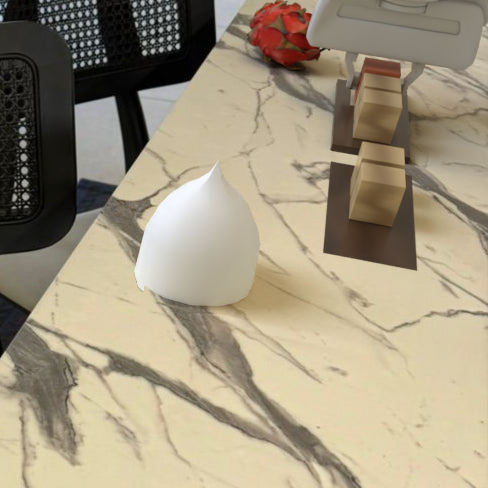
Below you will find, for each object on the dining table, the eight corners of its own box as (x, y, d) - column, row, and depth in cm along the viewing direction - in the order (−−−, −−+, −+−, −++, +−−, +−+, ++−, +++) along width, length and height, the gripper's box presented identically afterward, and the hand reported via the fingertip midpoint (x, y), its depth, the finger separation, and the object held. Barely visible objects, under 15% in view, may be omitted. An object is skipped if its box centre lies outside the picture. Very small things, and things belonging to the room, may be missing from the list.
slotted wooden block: (405, 96, 135) (418, 56, 131) (408, 164, 119) (423, 120, 115) (336, 84, 136) (347, 44, 133) (330, 150, 120) (342, 106, 117)
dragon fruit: (236, 59, 145) (311, 95, 142) (227, 36, 137) (306, 73, 134) (269, 3, 143) (345, 38, 140) (262, -24, 135) (342, 12, 132)
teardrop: (251, 322, 91) (285, 197, 83) (128, 303, 92) (150, 178, 84) (252, 261, 99) (282, 142, 91) (138, 244, 100) (159, 125, 92)
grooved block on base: (409, 182, 115) (425, 137, 112) (414, 277, 99) (433, 229, 96) (328, 167, 116) (341, 123, 113) (320, 259, 100) (335, 211, 97)
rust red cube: (389, 97, 132) (400, 62, 129) (389, 109, 128) (401, 74, 125) (354, 91, 132) (365, 56, 129) (354, 103, 129) (364, 68, 126)
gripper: (499, -19, 121) (457, 96, 130) (325, -45, 124) (296, 70, 133) (504, -4, 117) (460, 115, 126) (323, -31, 120) (293, 87, 129)
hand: (374, 91), depth 130 cm, fingers closed on rust red cube, 4 cm apart
